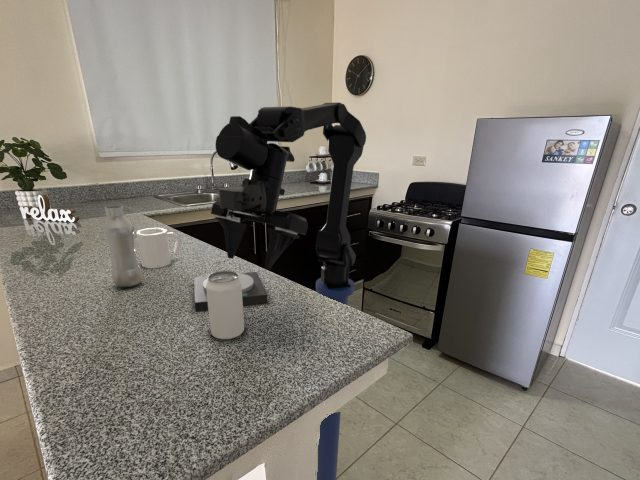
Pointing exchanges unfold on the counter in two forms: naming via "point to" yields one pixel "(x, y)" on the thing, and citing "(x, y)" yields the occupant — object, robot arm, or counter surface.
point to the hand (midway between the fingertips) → (248, 263)
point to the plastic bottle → (121, 247)
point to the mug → (156, 247)
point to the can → (225, 304)
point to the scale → (250, 290)
